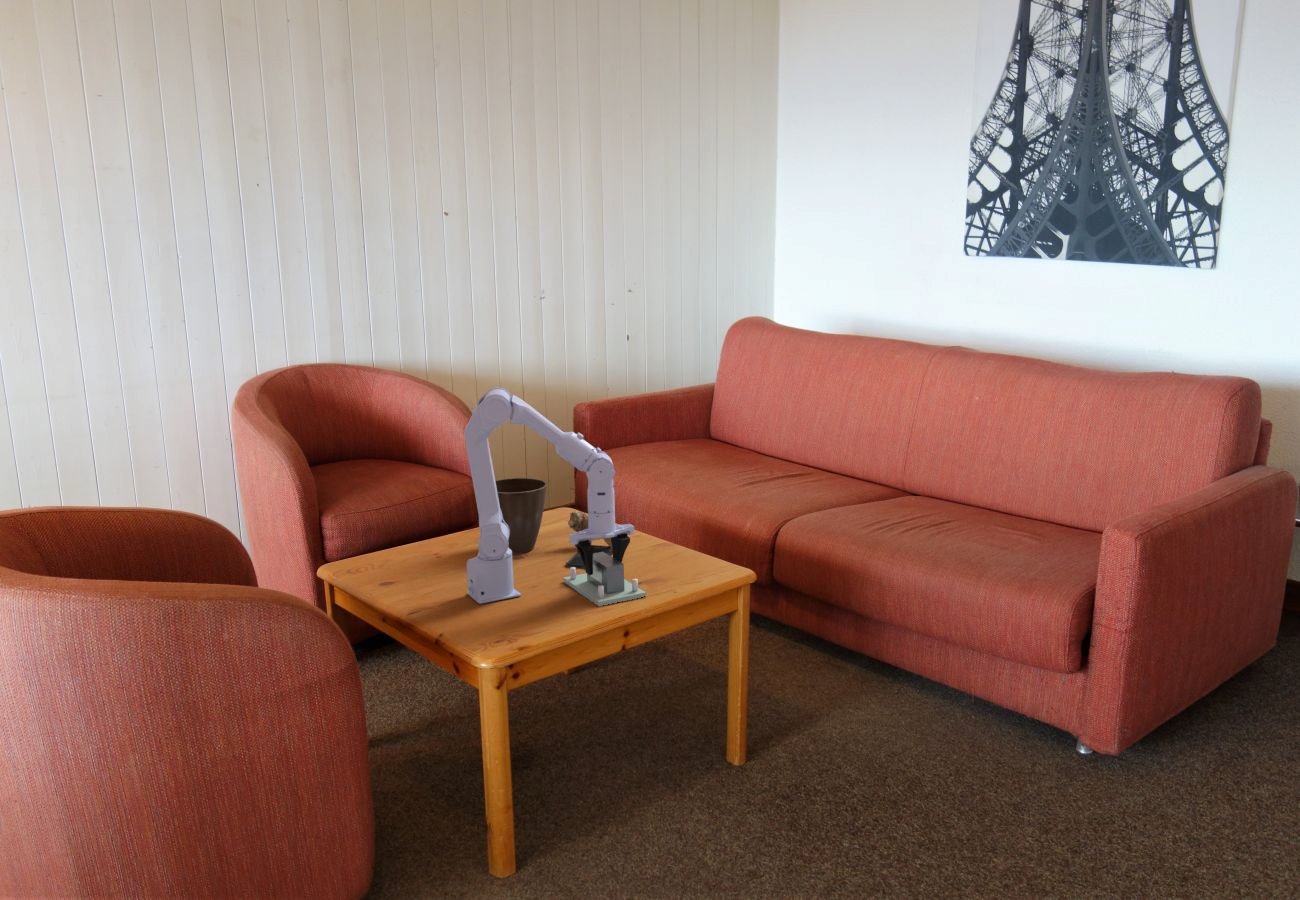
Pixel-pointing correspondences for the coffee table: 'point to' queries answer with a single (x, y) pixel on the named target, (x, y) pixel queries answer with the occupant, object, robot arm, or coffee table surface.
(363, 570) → the coffee table surface
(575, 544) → the robot arm
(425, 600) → the coffee table surface
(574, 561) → the phone
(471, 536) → the coffee table surface
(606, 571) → the block
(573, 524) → the lion figurine
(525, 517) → the plant pot
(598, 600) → the pin tray
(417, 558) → the coffee table surface
